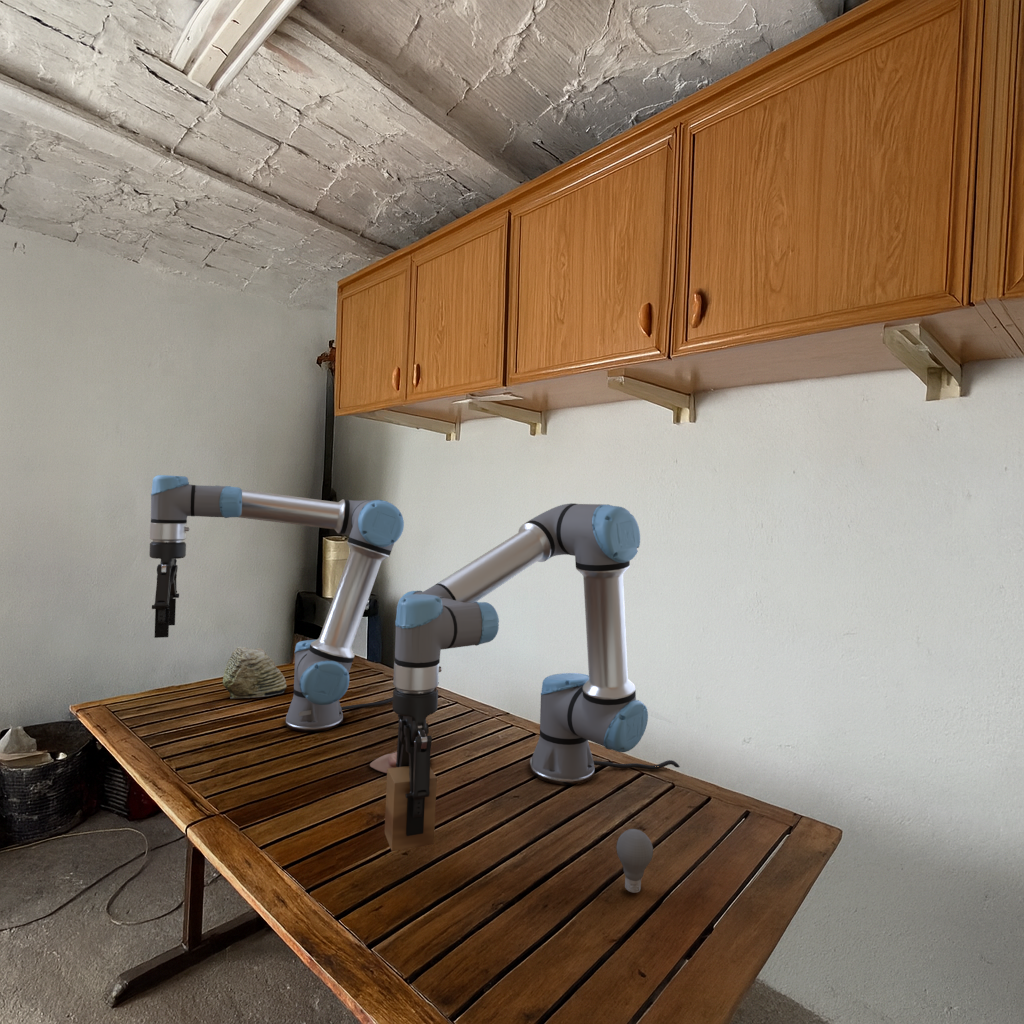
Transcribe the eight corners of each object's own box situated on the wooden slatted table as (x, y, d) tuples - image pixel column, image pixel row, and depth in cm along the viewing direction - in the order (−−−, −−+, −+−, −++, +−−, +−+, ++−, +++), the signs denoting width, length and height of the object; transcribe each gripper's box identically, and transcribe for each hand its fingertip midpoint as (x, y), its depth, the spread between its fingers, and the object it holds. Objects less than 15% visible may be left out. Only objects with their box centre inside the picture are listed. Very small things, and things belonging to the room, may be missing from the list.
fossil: (218, 695, 195) (220, 647, 195) (278, 685, 208) (279, 640, 207) (228, 703, 189) (230, 653, 188) (289, 692, 201) (290, 645, 201)
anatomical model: (364, 753, 147) (384, 735, 158) (364, 770, 147) (383, 751, 158) (419, 760, 144) (435, 742, 155) (418, 778, 144) (434, 758, 156)
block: (391, 851, 103) (394, 783, 103) (384, 833, 108) (387, 768, 108) (434, 844, 106) (436, 777, 105) (424, 826, 111) (427, 763, 111)
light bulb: (610, 879, 108) (613, 822, 108) (644, 879, 109) (647, 822, 109) (619, 902, 102) (622, 840, 102) (655, 901, 103) (658, 840, 103)
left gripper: (180, 545, 139) (177, 642, 139) (190, 537, 162) (187, 620, 162) (141, 545, 136) (138, 643, 136) (157, 537, 159) (154, 621, 159)
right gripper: (454, 703, 99) (447, 849, 100) (423, 671, 117) (417, 795, 117) (406, 707, 96) (400, 857, 97) (382, 673, 114) (377, 801, 114)
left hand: (165, 631), depth 149 cm, fingers open, 13 cm apart
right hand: (409, 823), depth 107 cm, fingers closed on block, 6 cm apart
